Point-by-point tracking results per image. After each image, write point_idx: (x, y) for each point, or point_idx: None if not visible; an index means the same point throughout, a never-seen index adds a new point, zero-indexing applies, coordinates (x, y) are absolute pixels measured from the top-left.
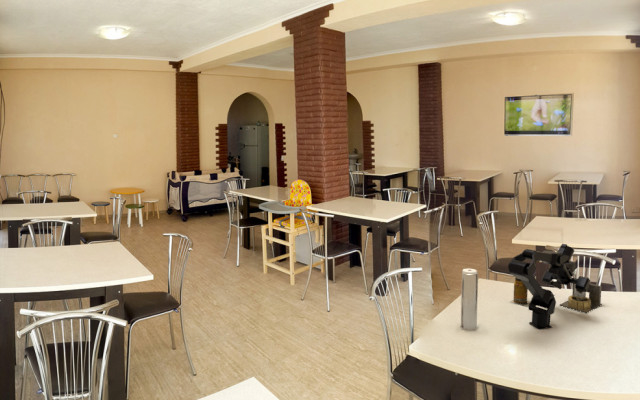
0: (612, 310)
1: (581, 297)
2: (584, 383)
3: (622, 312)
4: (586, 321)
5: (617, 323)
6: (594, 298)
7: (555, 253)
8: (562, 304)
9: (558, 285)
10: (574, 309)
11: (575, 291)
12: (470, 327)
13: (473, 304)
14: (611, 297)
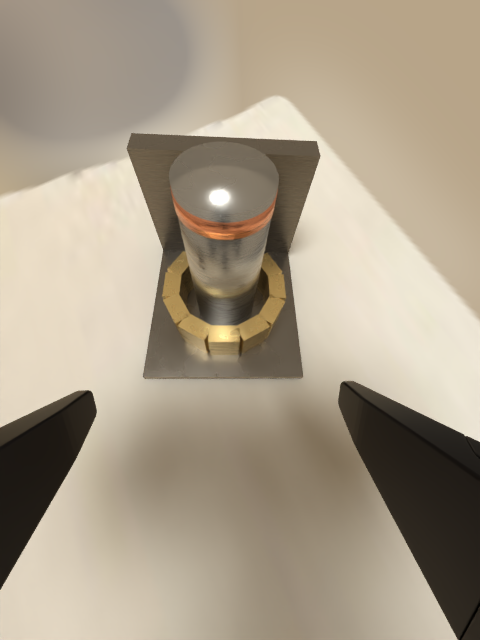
0: (342, 256)
1: (248, 295)
2: None
3: (375, 250)
4: (379, 518)
5: (466, 393)
6: (271, 229)
7: None
8: (156, 363)
9: (28, 487)
10: (234, 377)
11: (204, 278)
12: None
13: None
14: None
